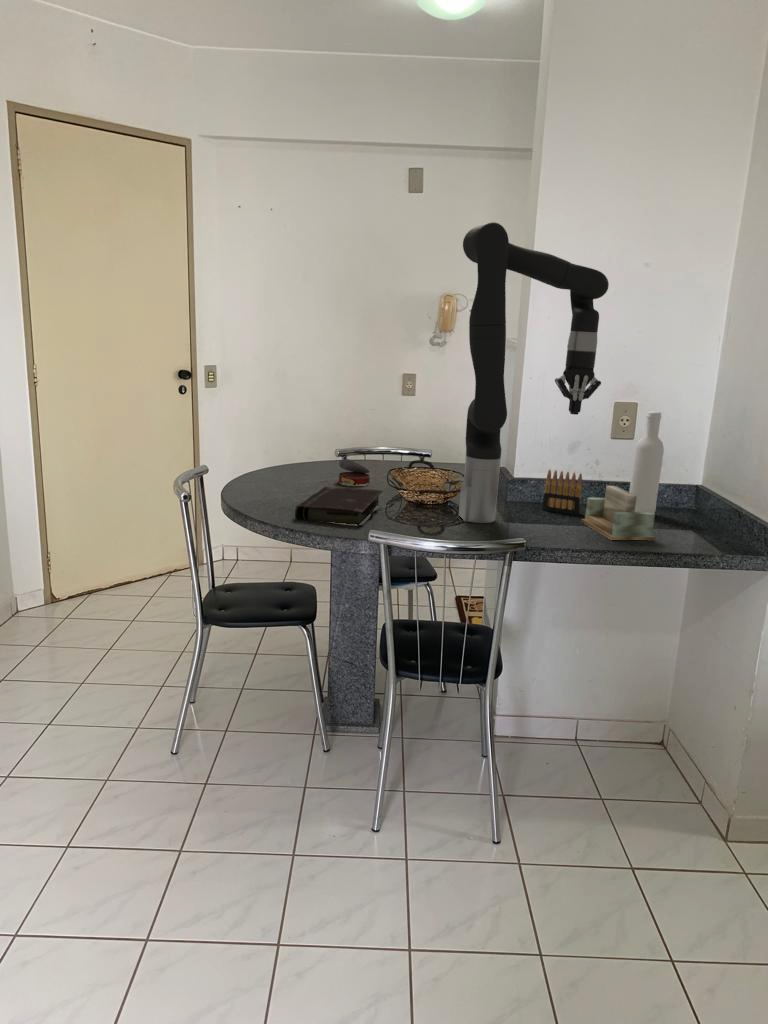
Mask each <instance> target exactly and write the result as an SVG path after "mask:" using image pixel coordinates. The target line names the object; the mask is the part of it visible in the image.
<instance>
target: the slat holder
mask: <svg viewBox="0 0 768 1024" xmlns="http://www.w3.org/2000/svg"><path fill="white" fill-rule="evenodd" d="M604 501H605V497H587V501H586V507H585V515H584V518H581V521H580V523H581V522H582V524H583V523H584V524H583V525H585V526H586V525H587V526H586V527H588V528H590V529H591V528H592V529H591V530H593V531H594V530H595V531H594V532H596V531H597V532H596V533H598V532H599V533H600V534H599V533H598V534H599V535H601V534H602V535H604V536H605V537H604V536H603V537H604V538H606V537H607V538H608V539H607V538H606V539H607V540H609V539H610V540H609V541H611V540H655V541H656V537H655V536H654V535H653V530H654V523H655V516H656V514H653V513H651V512H614V520H613V524H612V523H611V522H609V521H607V520H605V519H603V518H602V517H603V509H604ZM602 535H601V536H602Z"/></svg>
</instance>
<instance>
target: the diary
mask: <svg viewBox="0 0 768 1024" xmlns="http://www.w3.org/2000/svg"><path fill="white" fill-rule="evenodd" d="M383 492H384V491H383V490H380V489H369V488H361V487H360V488H359V487H343V486H342V487H340V486H339V487H335V486H334V487H331V486H324V487H322V488H320V490H319V491H317V492H315V493H313V494H312V495H310V496H309V497H308V498H306V500H304V501H303V502H300V503H298V504H297V505H296V506H295V511H294V517H295V521H299V520H300V519H301V517H302V516H303V517H302V519H303V520H304V522H306V521H307V520H308V521H309V520H310V521H309V522H316V521H323V522H322V523H325V522H335V523H346V524H357V525H358V526H361V527H363V526H362V525H359V524H360V523H361V522H362V521H363V520H364V519H365V518H366V517H367V516H368V515H369V514H371V515H373V510H374V508H375V507H376V506H377V505H379V504H380V502H379V499H380V498H379V496H380V495H381V494H382V493H383ZM373 516H374V515H373ZM307 518H308V519H307ZM306 519H307V520H306Z"/></svg>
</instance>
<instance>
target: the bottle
mask: <svg viewBox="0 0 768 1024" xmlns="http://www.w3.org/2000/svg"><path fill="white" fill-rule="evenodd" d="M661 419H662V412H661V411H653V410H652V411H651V410H649V411H648V412H647V415H646V421H645V422H646V424H645V430H644V436H642V437H641V438H640V439H639V440H638V441H637V442H636V444H635V448H634V455H633V461H632V470H631V478H630V483H629V484H630V485H629V491H628V492H630V493H632V494H634V495H636V496H637V498H636V505H635V512H651V513H653V514H655V512H656V508H657V500H658V492H659V487H660V486H659V484H660V478H661V472H662V465H663V457H664V452H665V448H664V444H663V441H662V440H661V439H660V437H659V431H660V425H661ZM655 515H656V514H655Z"/></svg>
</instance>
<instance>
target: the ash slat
mask: <svg viewBox="0 0 768 1024" xmlns="http://www.w3.org/2000/svg"><path fill="white" fill-rule="evenodd" d="M604 498H605V501H604V509H603V517H602V518H603V519H605V520H607V521H609V522H611V523H612V524H613V520H614V512H635V505H636V498H637V496H636V495H634V494H632V493H630V492H629V491H627V490H625V489H622V488H621V487H618V486H616V485H606V487H605V493H604Z"/></svg>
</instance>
